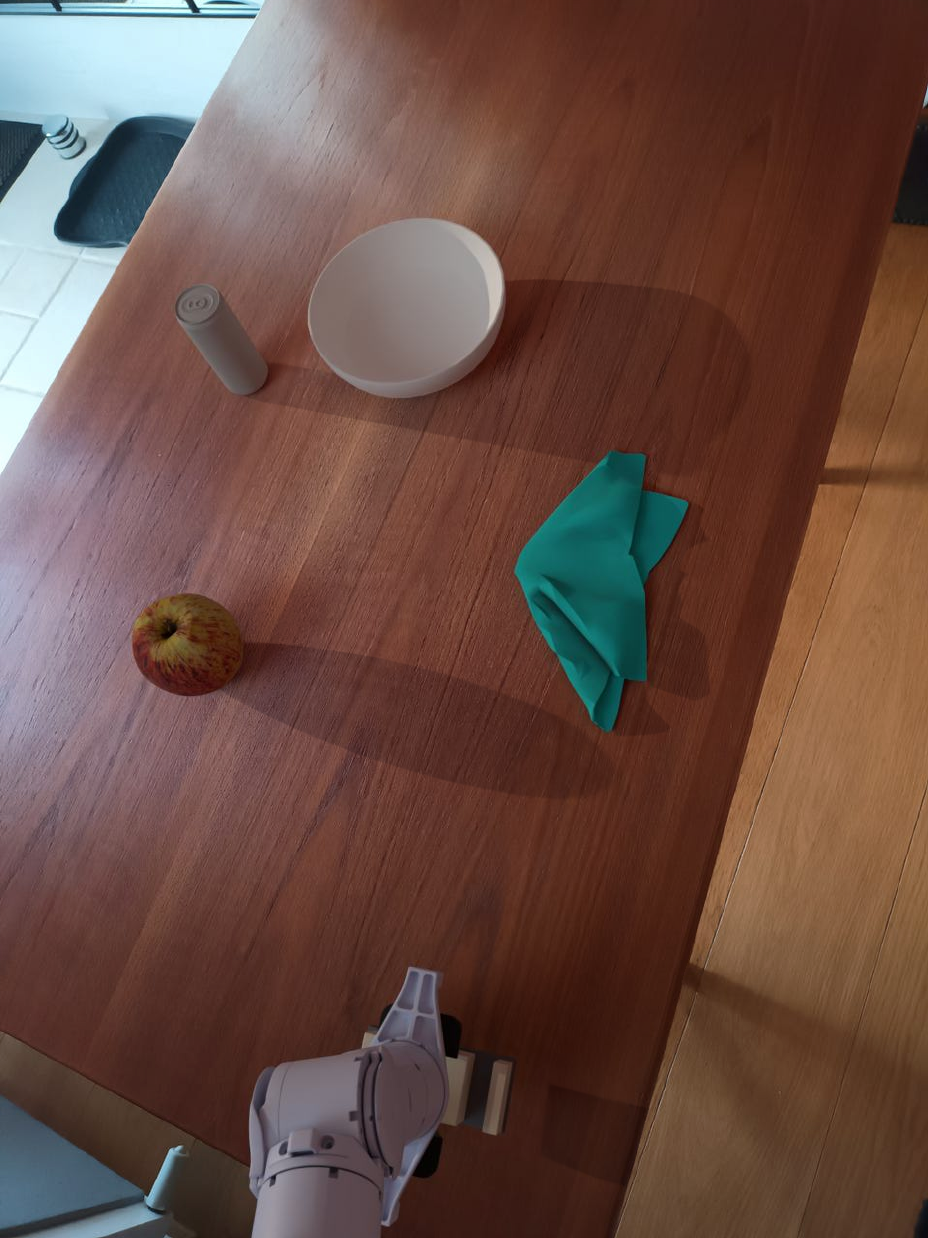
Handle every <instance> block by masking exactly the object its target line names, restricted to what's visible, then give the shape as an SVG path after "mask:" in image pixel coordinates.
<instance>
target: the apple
mask: <svg viewBox="0 0 928 1238" xmlns="http://www.w3.org/2000/svg"><path fill="white" fill-rule="evenodd" d="M131 645H132V646H131V647H132V648H131V649H132V654H133V658H134V659H133V660H134V661H135V664H136V666H137V668H138V670H139V671H140V673H141V675H142V676H143V677H144V678H145V679H146V680H147V681H149V682H150V683H151V684H152V685H154V686H156V687H157V688H159V689H160V690H162V691H165V692H167V693H170V694H173V695H176V696H180V697H199V696H205V695H209V694H211V693H214V692H216V691H219V690H221V689H223V688H224V687H226V685H228V684H229V683H230V682H231V681H232V679H234V677H235V676H236V674H237V673H238V671H239V670H240V669H241V666H242V663H243V660H244V640H243V636H242V631H241V629H240V628H239V625H238V624H237V622H236V620H235V618H234V617H233V615H232V614H231V612H230V611H229V610H228V609H227V608H226V607H225V606H223V605H222V604H221V603H219V602H218V601H215V600H214V599H212V598H210V597H207V596H205V595H201V594H198V593H191V592H184V593H177V594H173V595H169V596H166V597H163V598H160V599H158V600H156V601H153V602H152V603H150V604H148V605H147V606H146V607H145V608H144V609H143V610H142V611H141V613H140V614H139V615H138V617H137V619H136V620H135V622H134V625H133V628H132V633H131Z"/></svg>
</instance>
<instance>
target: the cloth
mask: <svg viewBox="0 0 928 1238" xmlns="http://www.w3.org/2000/svg"><path fill="white" fill-rule="evenodd" d="M646 460H647V455H645V454H643V453H622V452H619V451H617V450H616V449H615V450H614V449H611V450H610V451H609V452H608V453H607V454H606V455H605V456H604V457H603V458H602V460H601V461H600V462H599V463H598V464H597V465H596V466H595V467H594V468H593V469H592V470H591V471H590V472H589V473H588V474H587V475H586V477H584V478H583V480H581V482H580V483H579V484H578V485H577V486H576V487H575V488H574V489H573V490H572V491H571V492H570V493H569V494H568V495H567V496H566V497H565V498H564V499H563V501H562V502H560V504H558V506H557V507H556V508H555V509H554V511H553V512H552V513H551V514H550V516H549V517H548V518H547V519H546V520H545V521H544V522H543V524H542V525H541V526H540V527H539V528H538V530H536V532H535V533H534V534H533V535H532V536H531V537H530V539H529V540H528V542H527V543H526V544H525V545H524V547H523V548H522V550H521V551H520V553H519V555H518V558H517V562H516V565H515V568H514V571H513V572H514V574H515V576H516V577H517V579H518V582H519V583H520V586H521V588H522V591H523V593H524V597H525V599H526V601H527V605H528V607H529V610H530V613H531V616H532V618H533V619H534V622H535V623H536V625H537V627H538V629H539V631H540V632H541V635H543V637H544V639H545V640H546V642H547V644H548V645H549V648H550V649H551V650H552V651H553V652H554V653H555V654H556V655H557V658H558V659H559V662H560V664H561V666H562V668H563V669H564V672H565V674H566V676H567V678H568V680H569V682H570V683H571V685H572V686H573V689H575V691H576V692H577V695H578V696H579V697H580V699H581V701H582V702H583V704H584V705H585V706H586V708H587V711H588V714H589V717H590V720H591V722H592V723H594V724H595V725H596V726H597V727H598V728H600V729H601V730H602V731H603V732H611V731H612V729H613V728H614V724H615V721H616V719H617V716H618V713H619V709H620V703H621V698H622V693H623V688H624V682H625V679H626V680H629V681H639V682H640V681H641V682H647V678H648V677H647V676H648V674H647V673H648V671H647V666H648V665H647V663H648V662H647V657H648V656H647V655H648V654H647V651H648V650H647V649H648V648H647V647H648V646H647V645H648V644H647V623H646V621H647V620H646V594H645V590H644V589H645V588H644V586H645V584H646V582H647V580H648V578H649V575H650V574H649V573H650V571H651V570H652V569H653V568H654V567H655V566H656V565H657V564H658V563H659V562H660V560H661V559H662V558H663V556H664V554H665V553H666V551H668V548H669V547H670V546H671V544H672V542H673V540H674V538H675V536H676V534H677V532H678V530H679V528H680V526H681V524H682V522H683V520H684V517H685V515H686V512H687V510H688V508H689V502H688V501H687V500H685V499H682V498H678V497H674V496H670V495H667V494H663V493H660V492H655V491H647V490H643V484H644V476H645V468H646V467H645V466H646V462H647V461H646Z"/></svg>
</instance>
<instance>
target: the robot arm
mask: <svg viewBox="0 0 928 1238" xmlns="http://www.w3.org/2000/svg"><path fill="white" fill-rule="evenodd" d="M444 975H445V974H444V972H441V971H438V970H432V969H428V968H423V967H418V966H408V969H407V972H406V975H405V980H404V983H403V985H402V987H401V990H400V991H399V994H398V996H397V997H396V999H395V1001H394V1002H393V1003H390V1004H388V1005H386V1006H385V1007H384V1008H383V1009H382V1011H381V1013H380V1017H379V1021H378V1025H377V1026H378V1031H377V1034H376V1036H375V1038H374V1039H373V1041H372V1043H371V1045H370V1046H369V1047H367V1048H362V1047H361V1048H359V1049H355V1050H348V1051H345V1052H343V1053H341V1054H336V1055H329V1056H322V1057H314V1058H308V1059H301V1060H293V1061H287V1062H282V1063H280V1064H278V1065H277V1066H276V1067H275V1066H267V1067H265V1068H264V1069H263V1070H262V1072H261V1073H260V1074H259V1076H258V1078H257V1081H256V1083H255V1086H254V1090H253V1093H252V1098H251V1102H250V1105H249V1116H248V1117H249V1120H248V1134H249V1135H248V1137H249V1148H250V1149H249V1150H250V1167H249V1174H248V1178H249V1189H250V1191H251V1192H252V1194H253V1195H254V1197H255V1198H256V1199H257V1203H256V1209H255V1215H254V1220H253V1226H252V1231H251V1232H252V1233H251V1238H382V1237H381V1236H382V1234H381V1233H382V1226H384V1227H391V1226H392V1225H393V1224H394V1223H395V1222H396V1221H397V1220H398V1218H399V1213H400V1208H401V1202H400V1199H401V1197H402V1195H403V1193H404V1191H405V1189H406V1187H407V1185H408V1183H409V1181H410V1180H411V1178H412V1177H414V1178H418V1179H424V1180H425V1179H428V1178H430V1177H432V1176H433V1175H434V1174H435V1173H437V1172H438V1171H437V1170H438V1168H439V1164H440V1158H441V1153H442V1147H443V1141H444V1138H443V1137H442V1136H441V1135H440V1134H439V1132H438V1131H439V1126H440V1125H441V1124H442V1123H441V1121H442V1119H443V1117H444V1115H445V1112H446V1109H447V1106H448V1101H449V1080H448V1072H447V1064H446V1057H449V1058H454V1059H458V1053H459V1048H460V1045H461V1043H462V1042H461V1041H462V1036H463V1024H462V1022H461V1020H460V1019H459V1018H457V1017H456V1016H454V1015H450V1014H446V1013H443V1012H440V1004H439V990H440V989H441V987H442V985H443V980H444Z"/></svg>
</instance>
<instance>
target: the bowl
mask: <svg viewBox="0 0 928 1238" xmlns="http://www.w3.org/2000/svg"><path fill="white" fill-rule="evenodd" d="M506 293H507V291H506V280H505V272H504V269H503V266H502V264H501V260H500V258H499V256H498V255H497V253H496V252H495V251H494V249H493V247H492V246H491V245H490V243H489V242H487V241H486V240H485V239H484V238H483V237H482V236H481V235H479V233H478V232H477V233H476V232H475V231H473V230H472V229H471V228H468V227H466V226H464V225H463V224H459V223H455V222H454V221H450V220H448V219H441V218H432V217H414V218H413V217H412V218H411V217H410V218H405V219H401V220H395V221H391V222H388V223H385V224H382V225H379V226H376V227H373V228H372V229H370V230H368V231H366V232H365V233H362V234H360V235H359V236H357V237H355V238H354V239H353V240H351V241H350V242H349V243H348V244H346V245H345V246H344V247H342V248H341V249H340V250H339V251H338V252H337V253H336V254H335V255H334V256H333V257H332V258H331V259H330V260H328V263H327V264H326V266H324V268H323V270H322V271H321V273H320V274H319V276H318V277H317V280H316V282H315V284H314V286H313V289H312V291H311V294H310V299H309V301H308V307H307V326H308V330H309V334H310V339H311V341H312V343H313V345H314V348H315V349H316V351H317V353H318V355H319V356H321V358H322V359H323V361H324V362H325V363H326V365H327V366H328V367H329V368H330V369H331V370H332V371H333V372H334V373H335V375H337V376H338V377H339V378H341V379H342V380H344V381H345V382H347V383H348V384H350V385H351V386H354V388H356V389H358V390H361V391H363V392H365V393H367V394H371V395H373V396H378V397H382V398H388V399H410V398H416V397H423V396H427V395H430V394H433V393H435V392H439V391H442V390H444V389H446V388H448V387H451V385H454V384H456V383H458V382H459V381H461V380H462V379H464V378H465V377H466V376H468V374H470V373H471V372H473V371H474V370H475V369H476V368H477V367H478V365H480V363H481V362H482V361H483V360H484V359H485V358H486V357H487V355H488V354H489V352H490V351H491V349H492V347H493V346H494V344H495V343H496V340H497V337H498V335H499V332H500V329H501V327H502V324H503V320H504V317H505V311H506V304H507V294H506Z"/></svg>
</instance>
